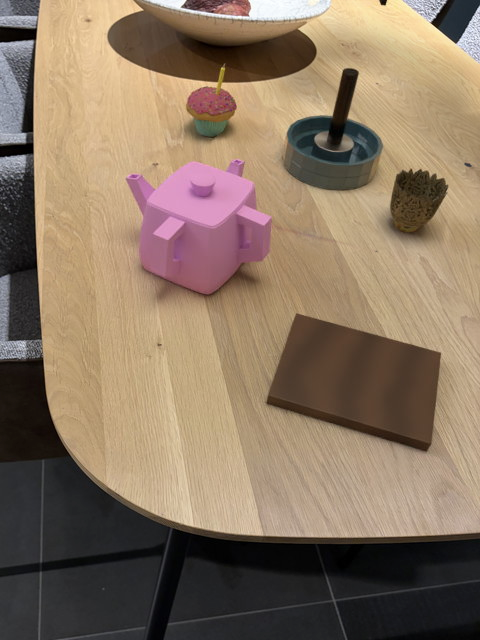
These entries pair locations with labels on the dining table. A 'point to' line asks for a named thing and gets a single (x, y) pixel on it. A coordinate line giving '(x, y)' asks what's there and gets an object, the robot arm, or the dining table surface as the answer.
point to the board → (358, 381)
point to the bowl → (325, 171)
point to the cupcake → (211, 108)
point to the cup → (416, 199)
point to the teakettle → (200, 225)
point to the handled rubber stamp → (338, 124)
